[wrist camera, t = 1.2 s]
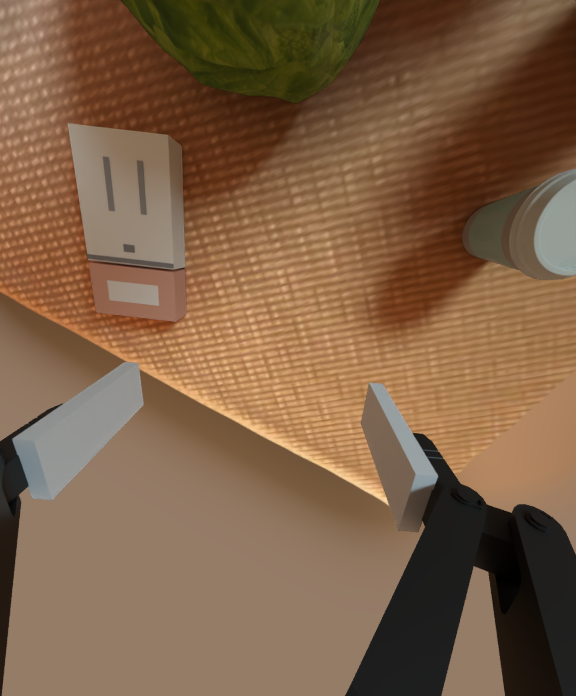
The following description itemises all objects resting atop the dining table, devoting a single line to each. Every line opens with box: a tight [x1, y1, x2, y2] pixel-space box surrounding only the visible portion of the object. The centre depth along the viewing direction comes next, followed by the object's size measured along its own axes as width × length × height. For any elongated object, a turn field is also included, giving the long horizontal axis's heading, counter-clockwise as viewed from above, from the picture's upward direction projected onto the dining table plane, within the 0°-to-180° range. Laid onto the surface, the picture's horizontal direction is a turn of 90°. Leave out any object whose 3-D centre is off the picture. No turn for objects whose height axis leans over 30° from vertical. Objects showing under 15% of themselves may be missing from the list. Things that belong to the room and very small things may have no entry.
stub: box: [89, 261, 187, 322], centre depth 35 cm, size 6×10×4 cm, turn 84°
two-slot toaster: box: [68, 123, 185, 270], centre depth 31 cm, size 13×10×4 cm
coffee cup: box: [462, 169, 576, 280], centre depth 27 cm, size 8×8×12 cm
